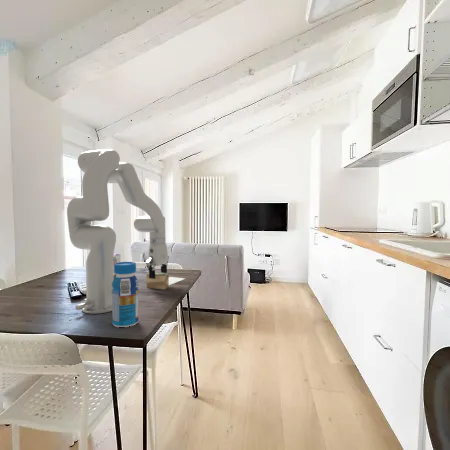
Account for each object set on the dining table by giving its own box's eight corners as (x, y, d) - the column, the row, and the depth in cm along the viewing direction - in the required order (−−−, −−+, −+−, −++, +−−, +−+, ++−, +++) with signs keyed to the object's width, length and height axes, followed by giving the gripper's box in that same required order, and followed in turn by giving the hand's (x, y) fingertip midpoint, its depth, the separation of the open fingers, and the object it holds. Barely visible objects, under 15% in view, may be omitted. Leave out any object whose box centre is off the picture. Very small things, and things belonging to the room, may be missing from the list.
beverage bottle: (106, 326, 94) (105, 264, 93) (123, 317, 102) (123, 260, 101) (127, 330, 91) (127, 266, 90) (144, 320, 99) (143, 262, 98)
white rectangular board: (169, 285, 146) (169, 285, 146) (152, 283, 150) (152, 283, 150) (185, 279, 161) (185, 278, 161) (170, 277, 165) (170, 276, 165)
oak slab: (163, 289, 139) (163, 275, 139) (146, 287, 143) (146, 273, 143) (168, 287, 143) (168, 273, 143) (151, 285, 147) (151, 271, 146)
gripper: (153, 243, 133) (153, 281, 134) (173, 239, 149) (174, 273, 150) (139, 243, 136) (140, 279, 137) (161, 239, 152) (162, 271, 153)
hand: (158, 276), depth 143 cm, fingers open, 9 cm apart
